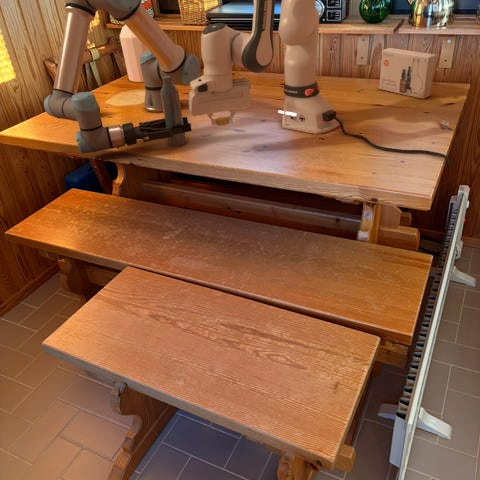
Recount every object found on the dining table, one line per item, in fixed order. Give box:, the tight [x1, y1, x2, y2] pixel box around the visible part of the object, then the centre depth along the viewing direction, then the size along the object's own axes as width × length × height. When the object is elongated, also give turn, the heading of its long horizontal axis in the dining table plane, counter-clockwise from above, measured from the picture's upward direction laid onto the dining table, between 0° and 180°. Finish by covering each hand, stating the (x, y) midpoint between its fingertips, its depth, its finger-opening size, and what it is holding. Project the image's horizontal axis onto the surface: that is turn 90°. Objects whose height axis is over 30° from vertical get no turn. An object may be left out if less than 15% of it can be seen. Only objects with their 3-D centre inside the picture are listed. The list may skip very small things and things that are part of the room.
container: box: [119, 23, 149, 83], centre depth 235 cm, size 21×21×28 cm
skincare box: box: [378, 47, 437, 100], centre depth 184 cm, size 21×6×16 cm, turn 40°
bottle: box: [160, 76, 187, 147], centre depth 159 cm, size 6×6×23 cm
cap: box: [215, 116, 229, 127], centre depth 151 cm, size 4×4×2 cm
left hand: (189, 123), depth 163 cm, fingers closed on bottle, 6 cm apart
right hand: (222, 124), depth 152 cm, fingers closed on cap, 4 cm apart
